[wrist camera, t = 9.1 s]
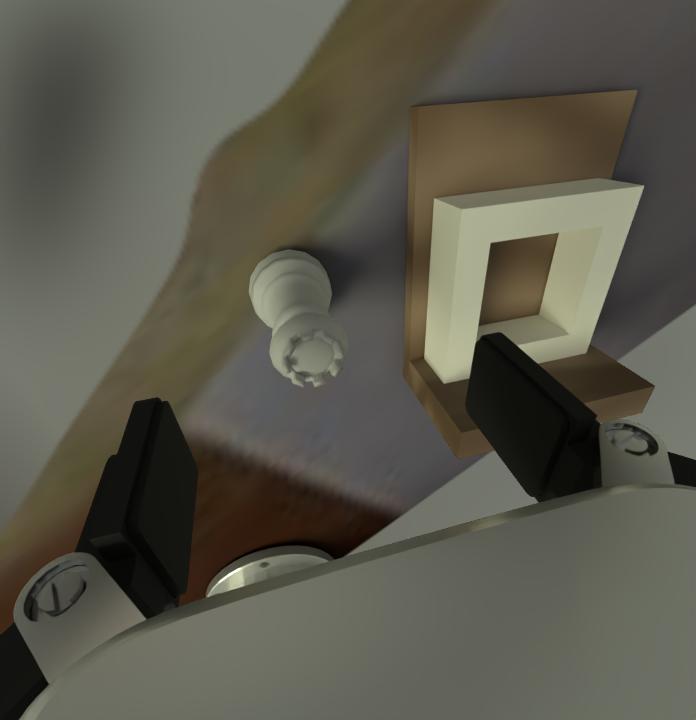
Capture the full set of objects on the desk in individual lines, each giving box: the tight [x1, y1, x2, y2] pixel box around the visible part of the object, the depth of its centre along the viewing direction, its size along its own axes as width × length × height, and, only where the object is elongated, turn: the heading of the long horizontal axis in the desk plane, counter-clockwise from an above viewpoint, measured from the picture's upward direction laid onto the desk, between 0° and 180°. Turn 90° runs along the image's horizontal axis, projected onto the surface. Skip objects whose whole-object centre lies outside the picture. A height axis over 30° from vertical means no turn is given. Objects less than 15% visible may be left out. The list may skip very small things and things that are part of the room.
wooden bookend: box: [403, 90, 655, 459], centre depth 20 cm, size 16×12×8 cm
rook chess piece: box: [249, 249, 348, 387], centre depth 18 cm, size 4×4×8 cm
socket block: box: [424, 178, 644, 384], centre depth 22 cm, size 10×10×3 cm
